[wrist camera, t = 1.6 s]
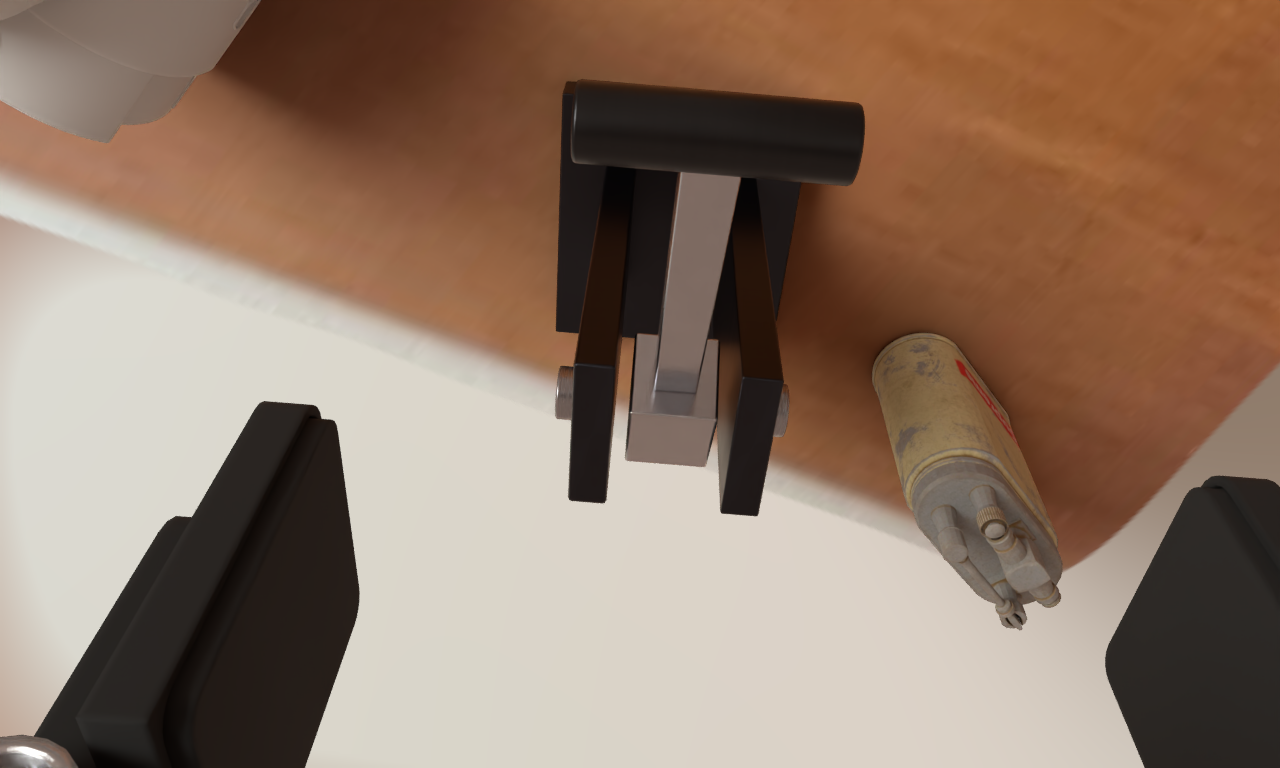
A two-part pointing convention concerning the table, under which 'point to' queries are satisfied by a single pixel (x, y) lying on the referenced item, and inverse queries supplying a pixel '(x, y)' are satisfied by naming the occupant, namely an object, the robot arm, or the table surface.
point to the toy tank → (109, 57)
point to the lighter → (967, 475)
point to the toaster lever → (701, 223)
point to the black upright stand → (631, 303)
